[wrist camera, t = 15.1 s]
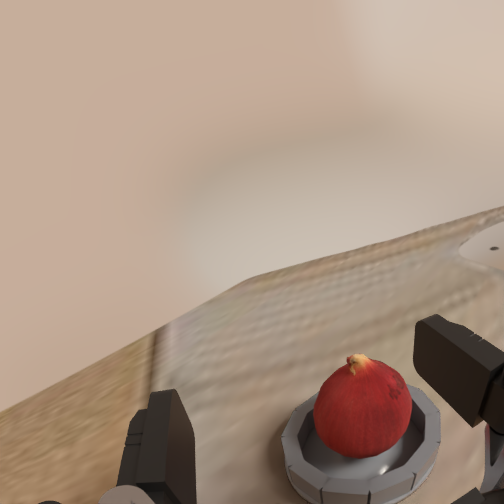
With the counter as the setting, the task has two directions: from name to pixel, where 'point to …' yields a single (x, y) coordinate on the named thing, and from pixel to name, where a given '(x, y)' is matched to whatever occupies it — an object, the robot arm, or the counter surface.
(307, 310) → the counter surface
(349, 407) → the onion
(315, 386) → the counter surface
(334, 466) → the grey round tray
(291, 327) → the counter surface
